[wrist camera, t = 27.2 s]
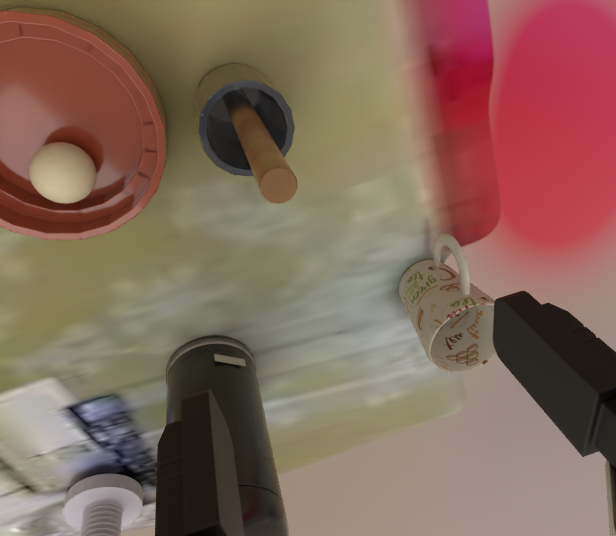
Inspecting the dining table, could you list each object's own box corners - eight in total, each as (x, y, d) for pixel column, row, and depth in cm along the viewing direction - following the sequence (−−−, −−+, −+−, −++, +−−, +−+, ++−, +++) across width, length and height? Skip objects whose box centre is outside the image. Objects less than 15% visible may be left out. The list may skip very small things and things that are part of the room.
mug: (389, 320, 54) (429, 383, 45) (384, 224, 47) (429, 278, 39) (456, 302, 55) (507, 360, 46) (461, 205, 48) (521, 253, 40)
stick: (251, 105, 37) (304, 192, 23) (231, 116, 37) (270, 210, 23) (240, 84, 36) (287, 160, 21) (220, 95, 36) (252, 179, 22)
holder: (283, 135, 40) (301, 162, 34) (209, 155, 39) (215, 186, 33) (265, 54, 36) (282, 69, 30) (183, 74, 35) (185, 94, 30)
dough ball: (77, 160, 32) (33, 206, 32) (119, 181, 36) (79, 221, 36) (46, 119, 33) (3, 163, 33) (90, 144, 37) (52, 183, 37)
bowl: (192, 188, 40) (194, 208, 37) (11, 237, 39) (-5, 263, 35) (119, -16, 32) (113, -15, 28) (-116, 37, 30) (-153, 46, 27)
